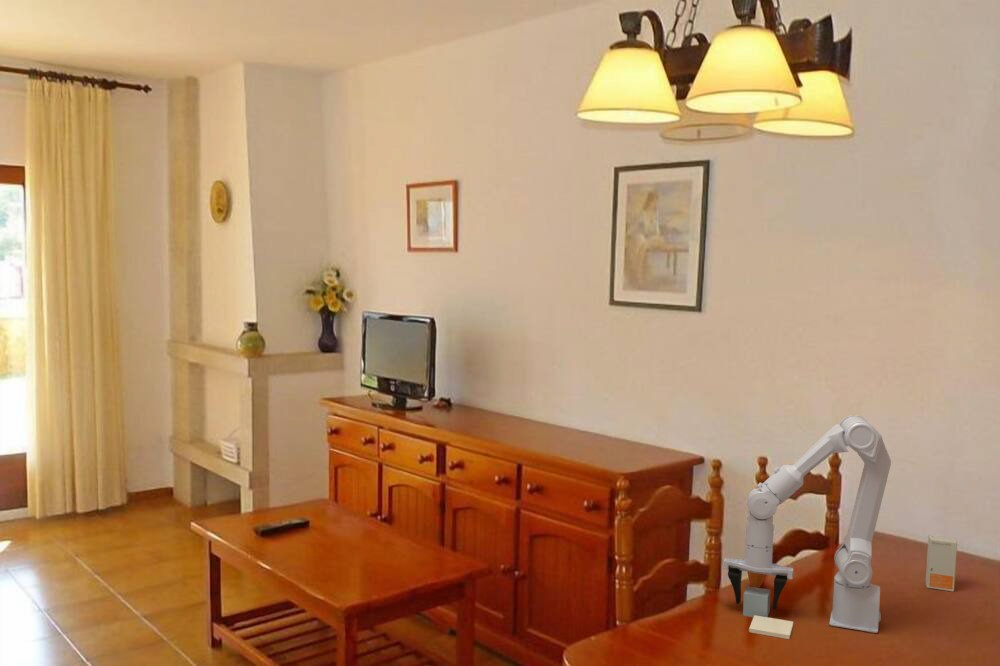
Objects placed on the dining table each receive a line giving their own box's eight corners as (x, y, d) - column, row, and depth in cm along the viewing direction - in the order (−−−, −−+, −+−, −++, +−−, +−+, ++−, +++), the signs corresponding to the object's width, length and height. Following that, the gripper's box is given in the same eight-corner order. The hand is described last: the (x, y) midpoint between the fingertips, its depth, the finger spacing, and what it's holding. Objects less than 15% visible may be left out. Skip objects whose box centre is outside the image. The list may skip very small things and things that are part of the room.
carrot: (767, 595, 205) (770, 531, 204) (745, 593, 206) (748, 530, 205) (765, 588, 210) (768, 526, 209) (743, 586, 211) (746, 524, 210)
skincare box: (926, 588, 212) (929, 539, 212) (925, 583, 216) (927, 534, 216) (954, 592, 210) (957, 542, 209) (953, 586, 214) (955, 538, 213)
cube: (769, 612, 195) (770, 589, 195) (766, 619, 191) (767, 597, 190) (746, 608, 197) (747, 586, 197) (742, 615, 193) (743, 593, 192)
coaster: (793, 625, 188) (793, 621, 188) (789, 639, 180) (789, 635, 180) (754, 618, 191) (754, 615, 191) (749, 632, 183) (749, 628, 183)
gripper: (795, 544, 194) (792, 605, 195) (728, 535, 199) (725, 594, 200) (792, 553, 187) (789, 616, 188) (722, 543, 193) (720, 604, 194)
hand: (756, 605), depth 194 cm, fingers open, 7 cm apart
